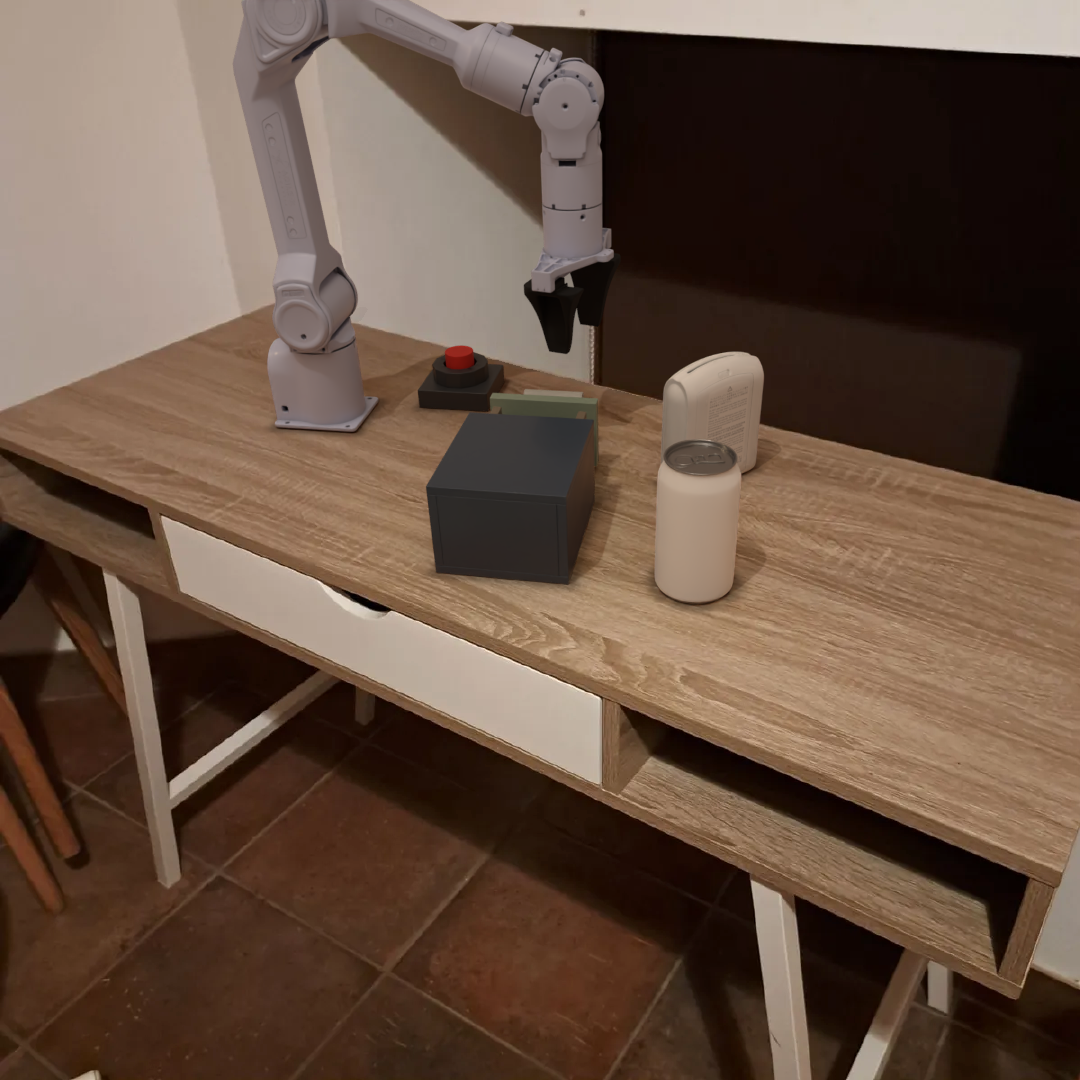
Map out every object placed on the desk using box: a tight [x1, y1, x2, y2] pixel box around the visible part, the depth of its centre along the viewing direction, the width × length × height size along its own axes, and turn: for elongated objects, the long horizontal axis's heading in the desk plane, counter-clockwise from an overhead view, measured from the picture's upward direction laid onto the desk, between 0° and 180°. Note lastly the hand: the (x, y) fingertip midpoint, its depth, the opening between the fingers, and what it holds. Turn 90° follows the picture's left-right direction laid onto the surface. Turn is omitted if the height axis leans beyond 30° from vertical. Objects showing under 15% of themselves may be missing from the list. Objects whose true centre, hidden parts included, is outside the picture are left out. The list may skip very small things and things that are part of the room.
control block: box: [417, 351, 505, 412], centre depth 115 cm, size 8×8×4 cm
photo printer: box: [660, 351, 765, 474], centre depth 95 cm, size 10×4×12 cm, turn 123°
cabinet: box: [425, 411, 596, 585], centre depth 89 cm, size 14×12×9 cm
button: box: [444, 344, 474, 369], centre depth 114 cm, size 3×3×2 cm
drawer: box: [489, 388, 600, 467], centre depth 96 cm, size 17×10×7 cm, turn 168°
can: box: [654, 439, 742, 605], centre depth 81 cm, size 6×6×12 cm
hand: (575, 337), depth 103 cm, fingers open, 7 cm apart
